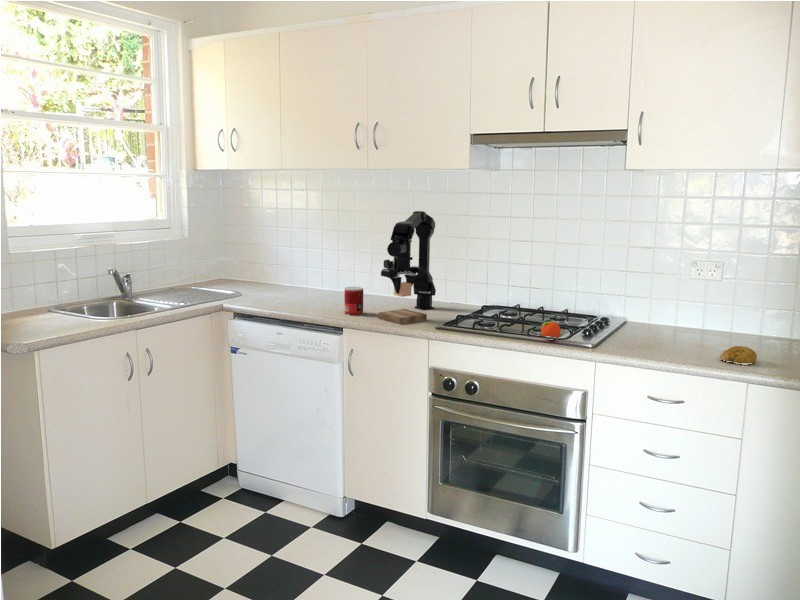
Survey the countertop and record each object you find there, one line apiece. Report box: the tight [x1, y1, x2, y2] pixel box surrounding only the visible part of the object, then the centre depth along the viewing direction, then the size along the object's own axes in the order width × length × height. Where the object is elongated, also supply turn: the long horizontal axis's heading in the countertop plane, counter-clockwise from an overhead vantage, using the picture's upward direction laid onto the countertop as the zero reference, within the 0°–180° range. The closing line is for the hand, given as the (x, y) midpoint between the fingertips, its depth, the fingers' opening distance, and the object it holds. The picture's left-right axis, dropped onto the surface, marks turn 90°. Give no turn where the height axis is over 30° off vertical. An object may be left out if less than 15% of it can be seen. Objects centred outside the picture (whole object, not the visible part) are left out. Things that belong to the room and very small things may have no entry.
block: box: [393, 281, 412, 298], centre depth 271 cm, size 5×5×5 cm
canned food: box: [344, 286, 364, 316], centre depth 282 cm, size 8×8×11 cm
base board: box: [377, 308, 428, 325], centre depth 272 cm, size 14×14×2 cm
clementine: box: [539, 320, 562, 338], centre depth 240 cm, size 8×7×7 cm
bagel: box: [719, 345, 758, 364], centre depth 216 cm, size 10×11×5 cm
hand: (402, 292), depth 271 cm, fingers closed on block, 5 cm apart
